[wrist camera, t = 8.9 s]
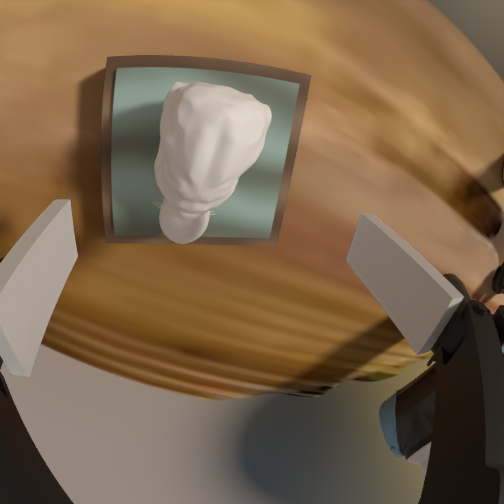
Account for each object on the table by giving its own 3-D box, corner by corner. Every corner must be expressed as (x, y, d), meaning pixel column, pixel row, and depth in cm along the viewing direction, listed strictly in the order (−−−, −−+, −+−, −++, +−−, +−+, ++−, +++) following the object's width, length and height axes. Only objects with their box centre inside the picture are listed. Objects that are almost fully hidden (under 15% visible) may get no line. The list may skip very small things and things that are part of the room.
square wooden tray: (265, 226, 31) (277, 247, 28) (113, 223, 27) (104, 245, 23) (293, 75, 23) (313, 75, 20) (118, 60, 19) (105, 56, 15)
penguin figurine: (297, 111, 13) (226, 291, 19) (259, 91, 19) (214, 222, 26) (167, 75, 11) (130, 278, 17) (177, 70, 17) (144, 210, 24)
